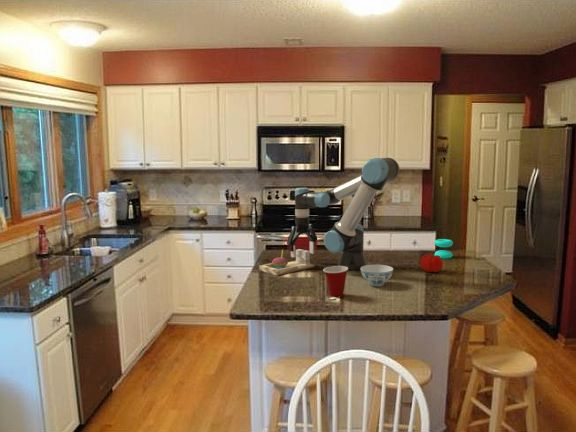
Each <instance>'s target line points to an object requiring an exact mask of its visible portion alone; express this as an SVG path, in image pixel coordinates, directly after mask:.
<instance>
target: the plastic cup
mask: <svg viewBox="0 0 576 432" xmlns="http://www.w3.org/2000/svg"><path fill="white" fill-rule="evenodd" d="M348 270H349V269H348V267H346V266H338V265H332V266H328V267H324V268H323V270H322V271H323V272H324V275H325V278H326V285H327V289H328V294H329V296H330V297H333V298H334V297H338V298H339V297H342V296H343V295H344V290H345V285H346V279H347V275H348V274H347V273H348Z"/></svg>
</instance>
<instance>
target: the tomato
mask: <svg viewBox="0 0 576 432" xmlns="http://www.w3.org/2000/svg"><path fill="white" fill-rule="evenodd" d="M419 264H420V268H421V269H422V270H423V271H424V272H427V273H437V272H440V271H441V270H442V268H443V265H444V263H443V260H442V258H441V257H440V256H438V255H436V256H435V255H434V254H432V253H430V254H424V255H423V256H422V257H421V258H420V263H419Z"/></svg>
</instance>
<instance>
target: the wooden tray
mask: <svg viewBox="0 0 576 432" xmlns="http://www.w3.org/2000/svg"><path fill="white" fill-rule="evenodd" d="M310 254H311V253H310V250H306V249H300V248H298V249H295V260H292V261H288V264H287V265H286V267H285V268H281V269H275V267H274V265H272V262H270V263H266V264H265V263H264V264H260V265H258V270H259V271H261V272H265V273H267V274H271V275H274V276H281V275H284V274H290V273H293V272H297V271H298V272H299V271H302V270H306V269H307V270H308V269H311V268H315V267H316V265H315V264H312V263H311V261H310V260H311V258H310V257H311V256H310Z"/></svg>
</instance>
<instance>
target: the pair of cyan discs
mask: <svg viewBox="0 0 576 432" xmlns="http://www.w3.org/2000/svg"><path fill="white" fill-rule="evenodd" d="M434 244H435V246H437V247H440V248H450V247H452V246H453V244H454V242H453V240H452V239H447V238H438V239H436V240H434ZM433 255H434V256H436V255H438V256H440V257H441V260H442V259H444V260H445V259H451V258H452V257H453V256H454V255H453V253H452V251H449V250H445V249H444V250H443V249H442V250H441V249H439V250H436V251H435V253H434V254H433Z"/></svg>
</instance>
